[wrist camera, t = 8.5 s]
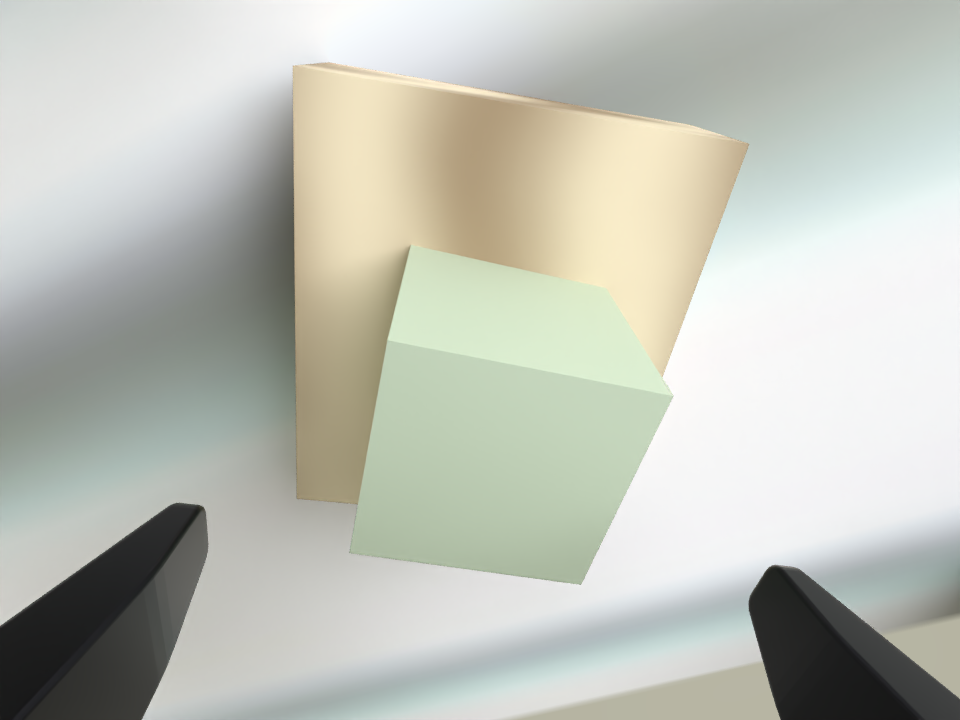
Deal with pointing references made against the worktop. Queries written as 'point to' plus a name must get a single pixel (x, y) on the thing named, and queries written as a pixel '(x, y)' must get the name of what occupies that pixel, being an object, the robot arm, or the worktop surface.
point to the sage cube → (503, 421)
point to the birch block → (475, 224)
